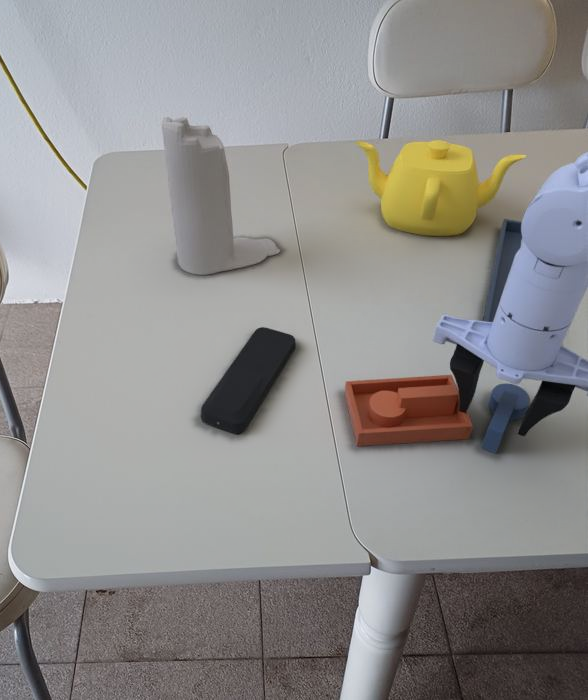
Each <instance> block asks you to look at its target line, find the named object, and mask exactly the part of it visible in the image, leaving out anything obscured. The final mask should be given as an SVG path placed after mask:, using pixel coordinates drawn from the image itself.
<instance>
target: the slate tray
mask: <svg viewBox="0 0 588 700" xmlns="http://www.w3.org/2000/svg"><path fill="white" fill-rule="evenodd" d="M521 224H522V220H514V219H508V218H503V219H502V223H501V227H500V231H499V235H498V241H497V247H496V251H495V255H494V261H493V265H492V266H493V267H492V272H491V277H490V282H489V288H488V293H487V298H486V304H485V308H484V314H483V317H482V318H483V319H482V321H485V322H493V320H494V318H495V315H496V312H497V309H498V306H499V303H500V300H501V296H502V293H503V290H504V287H505V284H506V281H507V278H508V275H509V272H510V269H511V266H512V263H513V260H514V257H515V255H516V253H517V252H518V250H519V249H520V248H521V240H522V233H521Z"/></svg>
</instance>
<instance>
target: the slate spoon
mask: <svg viewBox="0 0 588 700" xmlns="http://www.w3.org/2000/svg"><path fill="white" fill-rule="evenodd" d="M530 404H531V398H530V395H529V393H528V392H527V391H526V390H525V389H524V388H522V387H521V386H519V385H518V384H514V383H505V382H504V383H500V384H497V385H496V386H494V387H493V389H492V391H491V394H490V397H489V399H488V407H489V409H490V411H491V412H492V413H493V416H492V417H491V420H490V422H489V425H488V427H487V429H486V432H485V436H484V438H483V440H482V444H481V446H480V448H481V449H482V450H485V451H487V452H491V453H493V454H497V453H498V450H499V447H500V444H501V442H502V440H503V438H504V435H505V433H506V430H507V428H508V425H509V423H510V421H515V420H520V419H521V418H524V416H525V413H526V411H527V409H528V408H529V406H530Z"/></svg>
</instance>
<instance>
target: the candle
mask: <svg viewBox="0 0 588 700" xmlns="http://www.w3.org/2000/svg"><path fill="white" fill-rule="evenodd" d="M161 132H162V141H163V148H164V156H165V164H166V175H167V184H168V192H169V200H170V207H171V208H170V209H171V214H172V221H173V222H172V223H173V232H174V239H175V247H176V256H177V263H178V267H180V268H181V270H183V271H184V272H186V273H189V274H193V275H199V276H201V275H202V276H205V275H212V274H217V273H220V272H221V273H222V272H226V271H227V272H228V271H231V270H237V269H242V268H246V267H249V266H253V265H257V264H260V263H261V262H263V261H265V260H266V259H267V257H270V256H275V255H277V254H279V253H280V252H281V249H279V248H278V247H277V244H276V243H275V242H274V241H273V240H272V239H270V238H256V239H253V238H250V237H245V236H244V237H243V236H240V237H234V230H233V229H234V227H233V226H234V225H233V216H232V215H233V214H232V201H231V200H232V199H231V183H230V172H229V167H228V161H227V156H226V150H225V147H224V145H223V142H222V141H221V138H219V136H218V135H216V134H213V132H212V129H211V127H210V125H206V124H200V125H199V124H198V125H190V123H189V120H188V118H187V117H184V116H183V117H178V118H175V119H172V118H171V117H169V116H167V117H166V116H165V117H163V119H162V122H161Z"/></svg>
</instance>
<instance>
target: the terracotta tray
mask: <svg viewBox="0 0 588 700" xmlns="http://www.w3.org/2000/svg"><path fill="white" fill-rule="evenodd" d="M454 379H455V378H454V376H453V374H442V375H440V374H439V375H426V376H411V377H395V378H394V377H393V378H380V379H379V378H378V379H364V380H363V379H362V380H347V381H345V385H344V399H345V402H346V407H347V411H348V415H349V419H350V424H351V427H352V431H353V435H354V440H355V444H356V446H357V447H362V446H363V447H364V446H379V445H391V444H392V445H393V444H394V445H395V444H409V443H410V444H411V443H424V442H425V443H426V442H440V441H455V440H457V441H458V440H470V439H471V434H472V431H473V428H474V424H473V422H472V420H471V418H470V415H469V413H468V411H467V412H466V413H463V412H460V411H459V406H460V400H459V395H458V399H457V402H456V406H455V409H454V413H453V415H444V416H429V417H413V418H404V420H403V422H402V423H401V424H400V425H398V426H396V427H392V428H385V427H381V426H378V425H376V424H375V423H373V422H372V421H371V419H370V418H369V416H368V408H369V401H370V398H371V396H372V395H373V394H375V393H376V392H379V391H392V392H395V393H398V388H410V387H425V386H441V385H455V387H456V389H457V392H458V394H459V391H458V386H457V383H456V381H455V380H454Z"/></svg>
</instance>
